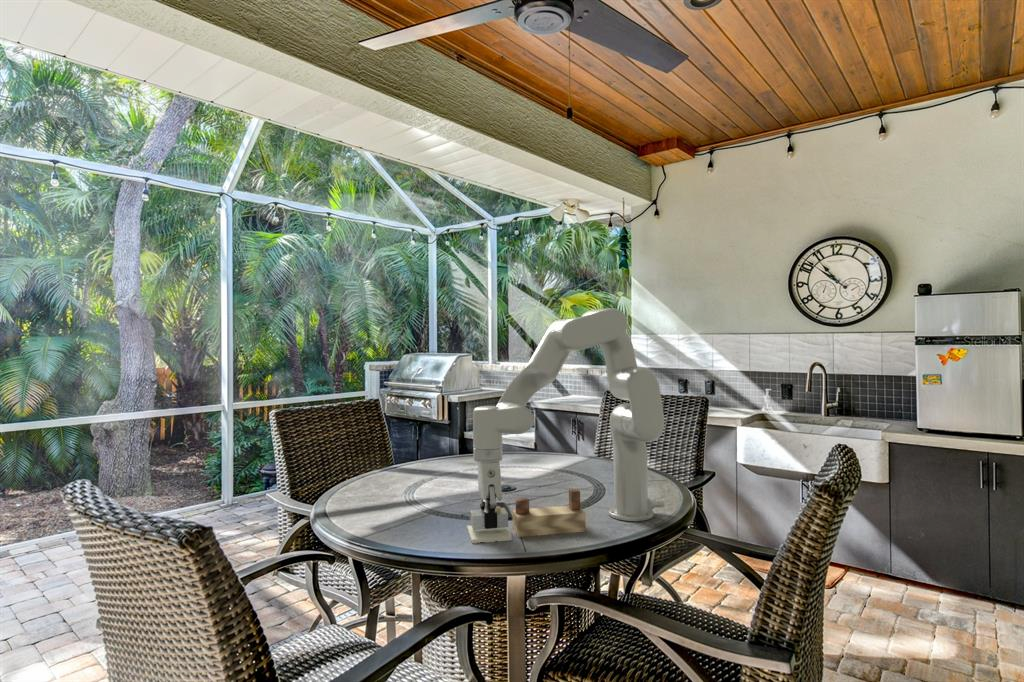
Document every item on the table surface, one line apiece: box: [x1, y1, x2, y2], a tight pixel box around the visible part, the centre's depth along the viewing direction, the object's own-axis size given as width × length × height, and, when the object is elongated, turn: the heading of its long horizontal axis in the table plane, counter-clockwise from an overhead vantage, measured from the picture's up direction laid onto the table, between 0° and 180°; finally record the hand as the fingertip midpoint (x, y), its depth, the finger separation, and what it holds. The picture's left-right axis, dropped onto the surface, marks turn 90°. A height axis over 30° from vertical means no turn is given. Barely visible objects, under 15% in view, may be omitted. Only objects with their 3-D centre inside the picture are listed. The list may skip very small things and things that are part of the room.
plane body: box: [511, 488, 587, 538], centre depth 152 cm, size 18×7×10 cm, turn 101°
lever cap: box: [469, 506, 509, 530], centre depth 149 cm, size 9×6×4 cm, turn 101°
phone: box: [479, 501, 513, 520], centre depth 169 cm, size 8×1×15 cm
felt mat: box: [466, 524, 513, 544], centre depth 149 cm, size 10×11×1 cm
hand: (489, 523), depth 149 cm, fingers closed on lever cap, 5 cm apart
